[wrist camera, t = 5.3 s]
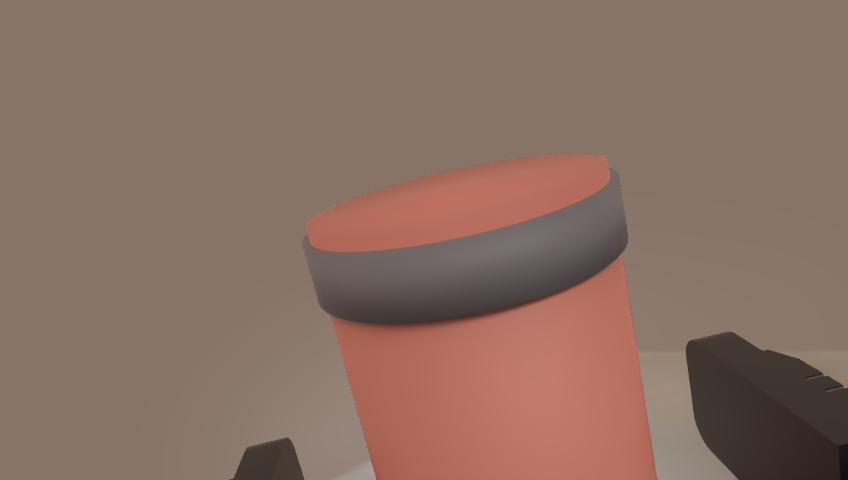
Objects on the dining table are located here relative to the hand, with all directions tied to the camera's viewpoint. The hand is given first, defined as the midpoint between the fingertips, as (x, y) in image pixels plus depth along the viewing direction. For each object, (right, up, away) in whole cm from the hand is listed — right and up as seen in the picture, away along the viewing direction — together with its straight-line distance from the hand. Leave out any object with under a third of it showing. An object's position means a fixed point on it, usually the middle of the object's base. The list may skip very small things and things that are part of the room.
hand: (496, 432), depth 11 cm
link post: (+2, -7, 0) cm, 7 cm away
